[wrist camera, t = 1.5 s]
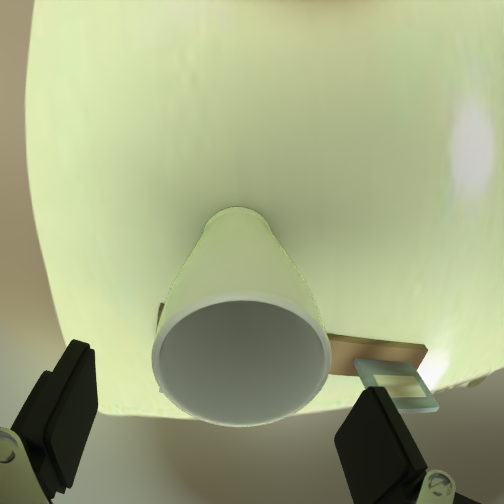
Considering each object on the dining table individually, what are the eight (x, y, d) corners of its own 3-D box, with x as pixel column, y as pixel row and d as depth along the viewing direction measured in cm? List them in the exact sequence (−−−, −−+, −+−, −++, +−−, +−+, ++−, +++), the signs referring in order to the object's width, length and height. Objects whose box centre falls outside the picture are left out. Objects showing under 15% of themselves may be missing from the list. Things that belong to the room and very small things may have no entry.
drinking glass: (277, 280, 26) (316, 427, 12) (193, 277, 26) (159, 425, 12) (284, 197, 24) (352, 292, 10) (193, 193, 24) (138, 286, 10)
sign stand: (424, 344, 30) (459, 392, 23) (407, 373, 32) (437, 422, 24) (161, 303, 27) (139, 363, 19) (156, 339, 28) (137, 402, 21)
